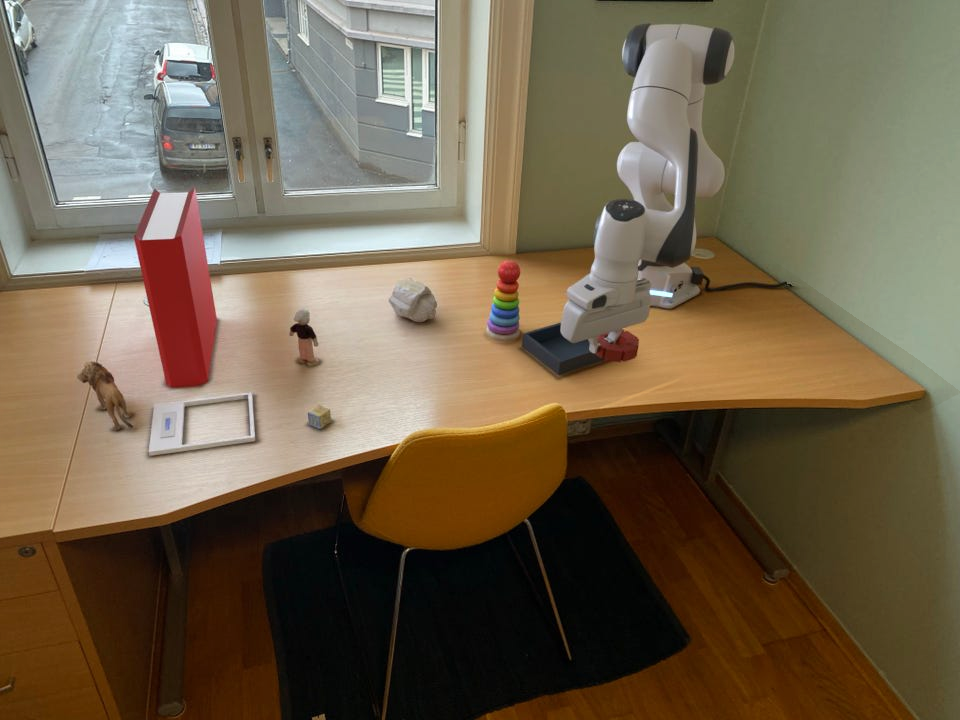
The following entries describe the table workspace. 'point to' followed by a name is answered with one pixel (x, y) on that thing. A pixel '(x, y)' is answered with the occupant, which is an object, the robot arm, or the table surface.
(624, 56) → the robot arm
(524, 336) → the tray
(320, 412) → the alphabet block
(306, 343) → the grandmother figurine
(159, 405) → the photo frame
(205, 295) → the book
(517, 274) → the stacking toy
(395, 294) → the white rock
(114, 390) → the lion figurine
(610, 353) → the ring
